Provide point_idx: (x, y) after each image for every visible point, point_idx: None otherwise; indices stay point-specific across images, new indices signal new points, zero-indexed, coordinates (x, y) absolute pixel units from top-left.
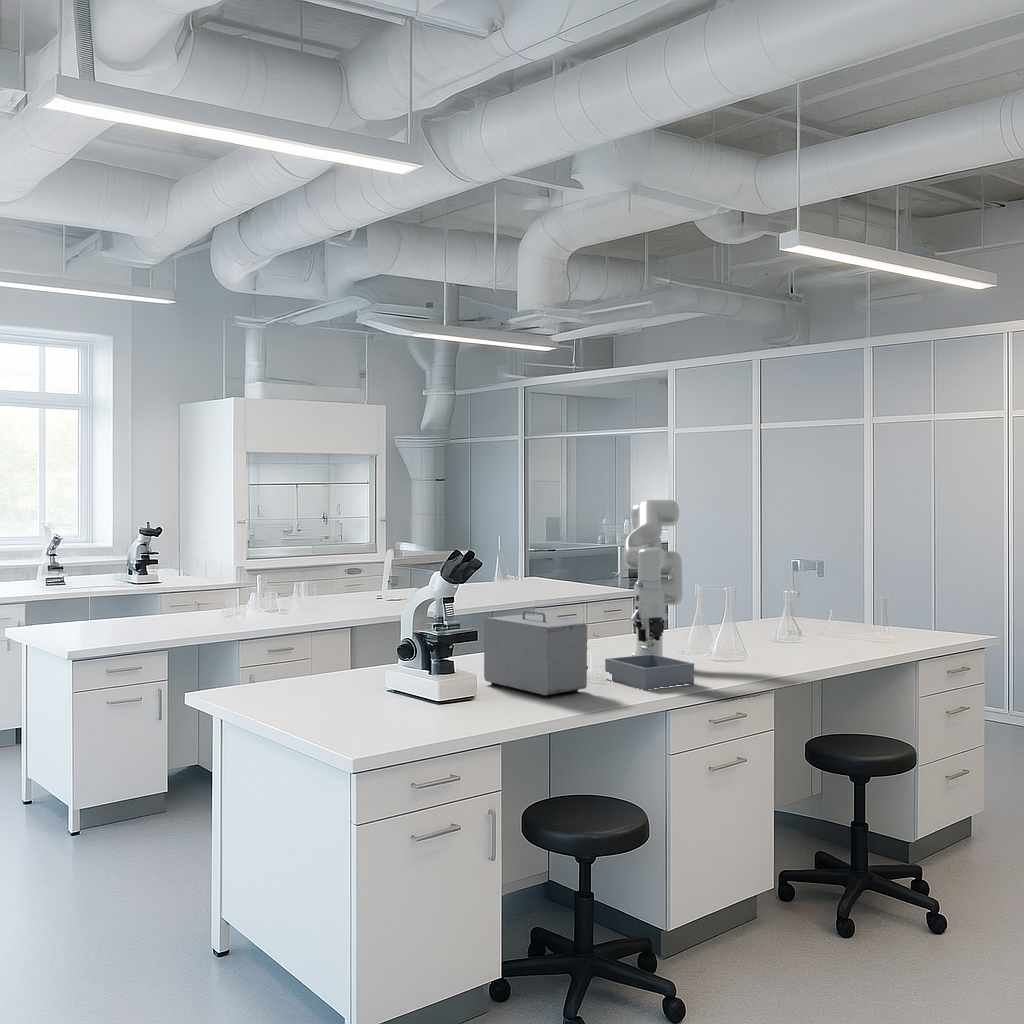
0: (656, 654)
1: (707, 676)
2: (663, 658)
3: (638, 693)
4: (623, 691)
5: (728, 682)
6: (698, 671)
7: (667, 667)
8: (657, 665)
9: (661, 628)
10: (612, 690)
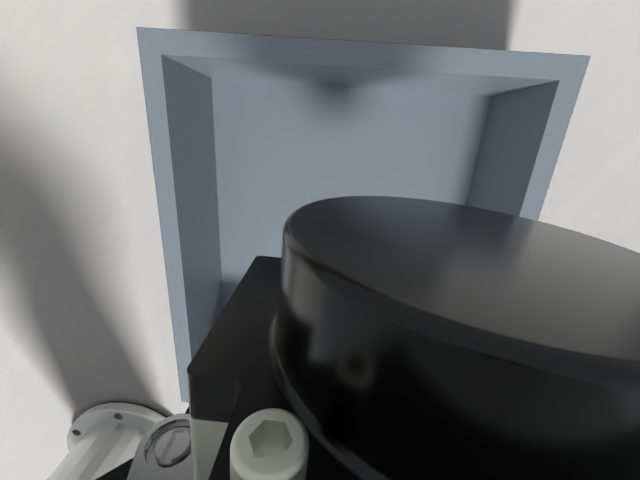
0: (97, 458)
1: (33, 190)
2: (189, 309)
3: (581, 46)
4: (588, 131)
5: (4, 11)
6: (19, 288)
7: (382, 44)
8: (210, 326)
9: (369, 217)
10: (603, 177)
